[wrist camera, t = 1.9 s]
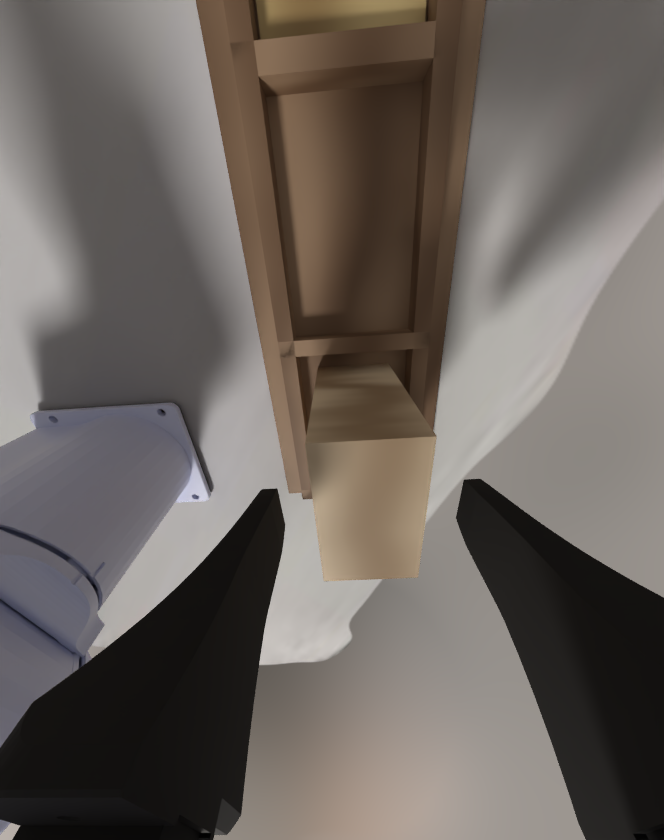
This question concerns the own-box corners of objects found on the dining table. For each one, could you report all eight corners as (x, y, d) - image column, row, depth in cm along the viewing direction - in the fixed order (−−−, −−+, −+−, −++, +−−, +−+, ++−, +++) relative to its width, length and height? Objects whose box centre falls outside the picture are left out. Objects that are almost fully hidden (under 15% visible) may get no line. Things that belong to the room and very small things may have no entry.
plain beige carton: (327, 466, 19) (323, 581, 11) (318, 367, 15) (305, 443, 8) (387, 462, 18) (421, 577, 11) (390, 362, 15) (441, 436, 8)
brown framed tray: (290, 487, 20) (286, 505, 19) (86, -618, 6) (-7, -960, 4) (423, 480, 20) (431, 498, 18) (562, -714, 5) (656, -1124, 4)
